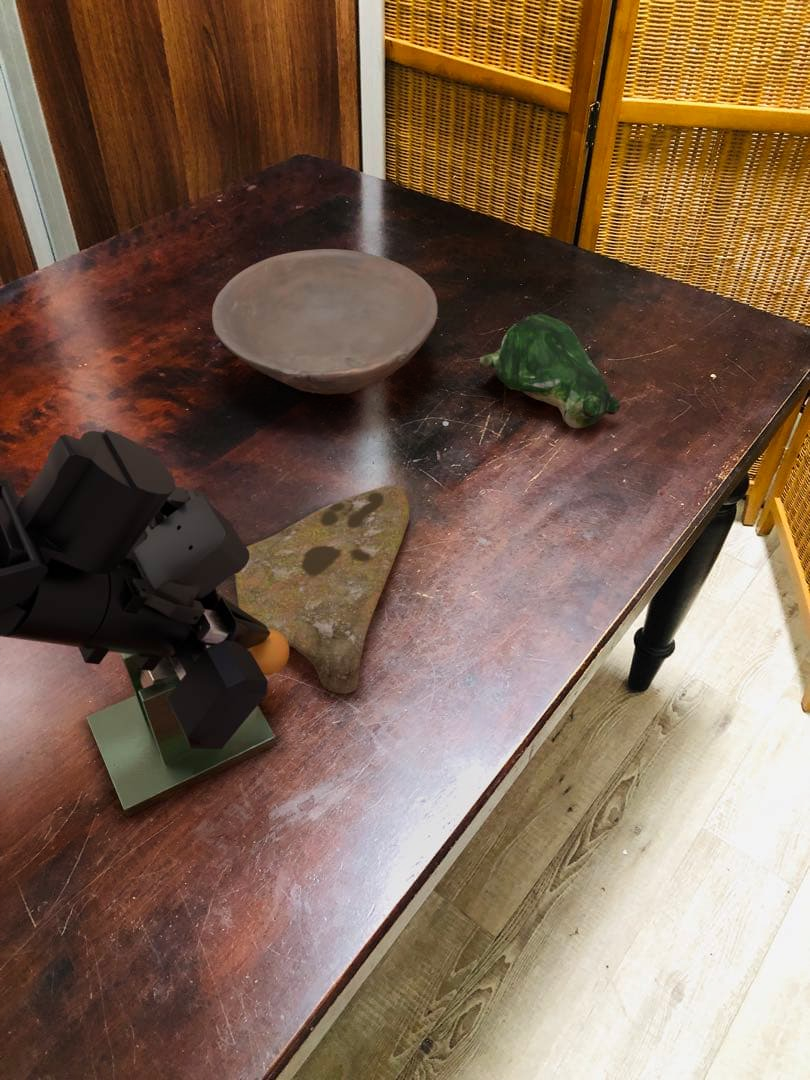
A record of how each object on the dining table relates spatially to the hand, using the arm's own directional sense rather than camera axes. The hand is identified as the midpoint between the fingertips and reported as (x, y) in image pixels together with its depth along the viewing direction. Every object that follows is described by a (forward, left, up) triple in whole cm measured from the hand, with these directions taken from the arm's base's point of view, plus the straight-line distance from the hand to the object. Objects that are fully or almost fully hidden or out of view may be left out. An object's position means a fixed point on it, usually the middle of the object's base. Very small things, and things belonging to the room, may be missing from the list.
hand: (265, 634), depth 66 cm
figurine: (+48, +5, -8) cm, 48 cm away
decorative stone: (+12, +7, -8) cm, 16 cm away
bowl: (+36, +28, -8) cm, 46 cm away
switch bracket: (-7, +3, -8) cm, 11 cm away
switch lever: (-4, +1, -3) cm, 5 cm away
